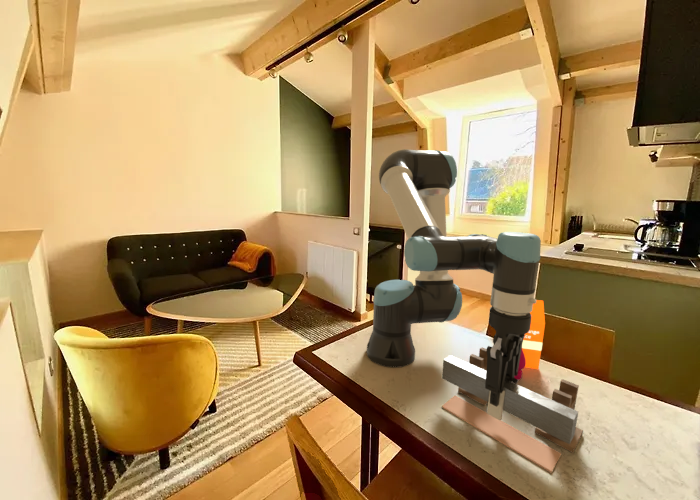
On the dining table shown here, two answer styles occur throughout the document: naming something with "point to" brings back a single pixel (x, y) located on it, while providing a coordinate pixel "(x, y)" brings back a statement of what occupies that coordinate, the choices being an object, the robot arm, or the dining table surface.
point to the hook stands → (562, 396)
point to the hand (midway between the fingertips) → (498, 411)
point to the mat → (504, 433)
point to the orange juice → (534, 336)
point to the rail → (515, 399)
